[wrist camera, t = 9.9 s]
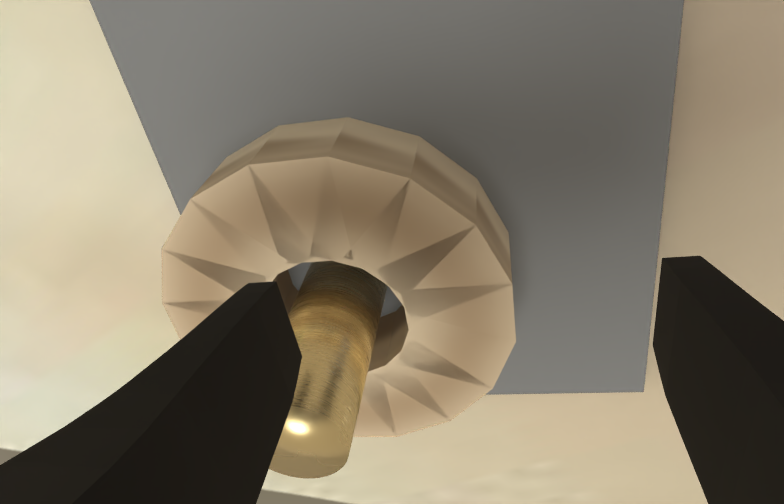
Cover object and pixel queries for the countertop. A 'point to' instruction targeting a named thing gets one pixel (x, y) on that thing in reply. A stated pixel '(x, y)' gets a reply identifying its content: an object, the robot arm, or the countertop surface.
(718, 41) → the countertop surface
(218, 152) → the mat
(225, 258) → the beige grooved ring
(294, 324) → the peg
